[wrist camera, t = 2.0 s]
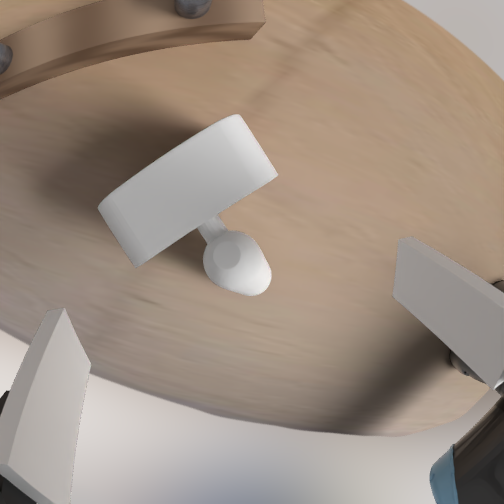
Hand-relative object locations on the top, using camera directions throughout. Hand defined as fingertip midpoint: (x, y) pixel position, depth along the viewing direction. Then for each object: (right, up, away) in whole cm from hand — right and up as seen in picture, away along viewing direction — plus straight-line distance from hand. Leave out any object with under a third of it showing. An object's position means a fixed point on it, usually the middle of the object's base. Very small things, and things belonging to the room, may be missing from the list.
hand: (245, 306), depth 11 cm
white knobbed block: (-2, +4, +11) cm, 12 cm away
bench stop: (-10, +16, +4) cm, 19 cm away
